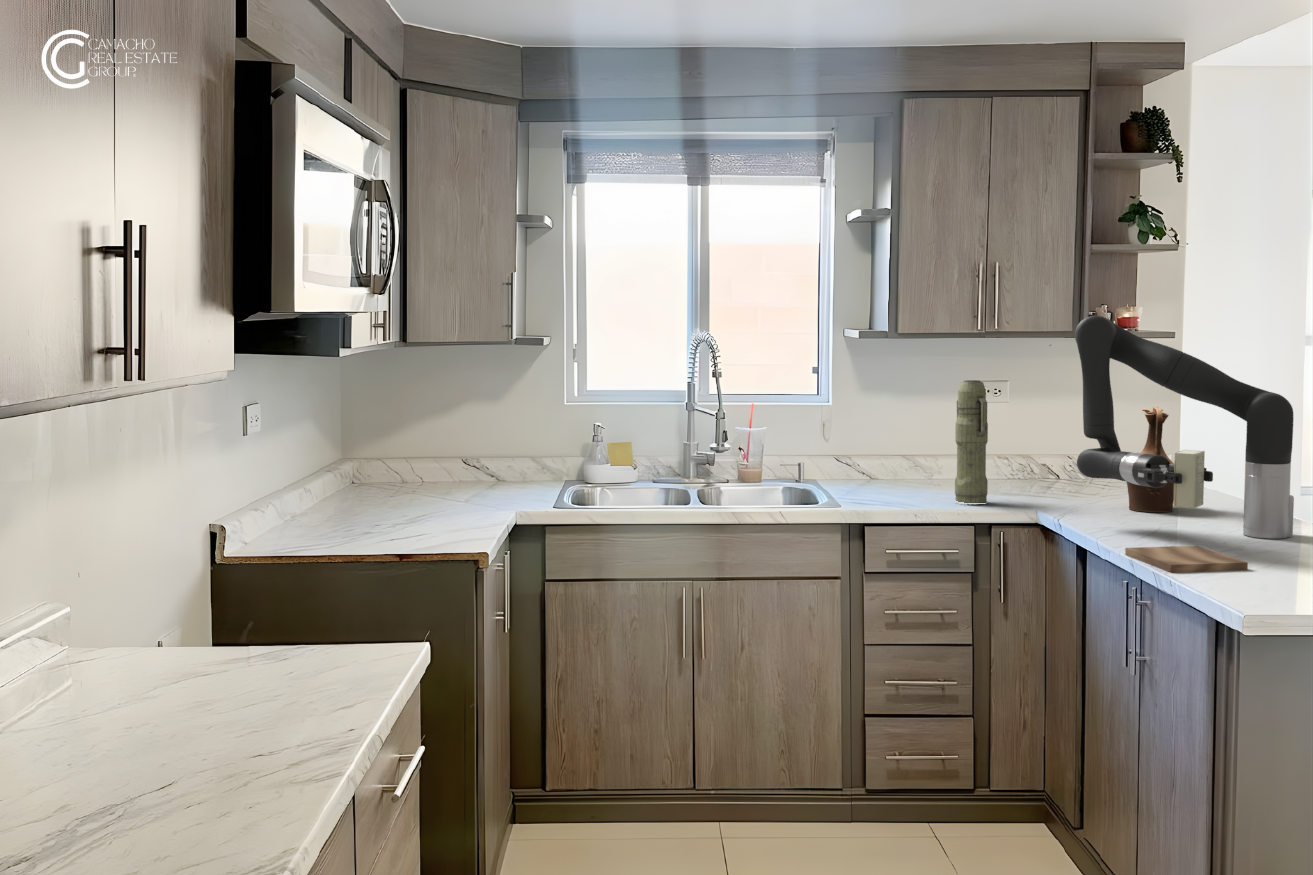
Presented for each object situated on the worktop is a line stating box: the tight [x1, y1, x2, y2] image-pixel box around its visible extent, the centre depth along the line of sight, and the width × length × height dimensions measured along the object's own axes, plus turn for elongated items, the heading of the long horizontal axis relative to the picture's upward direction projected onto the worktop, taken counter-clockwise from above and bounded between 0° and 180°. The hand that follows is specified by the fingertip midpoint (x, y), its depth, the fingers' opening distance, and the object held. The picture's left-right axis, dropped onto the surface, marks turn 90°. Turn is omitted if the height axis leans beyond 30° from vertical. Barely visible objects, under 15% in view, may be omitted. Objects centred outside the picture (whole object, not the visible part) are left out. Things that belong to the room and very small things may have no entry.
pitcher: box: [1126, 406, 1174, 513], centre depth 290 cm, size 18×17×28 cm
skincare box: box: [1173, 449, 1206, 510], centre depth 237 cm, size 6×4×12 cm
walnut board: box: [1124, 545, 1249, 573], centre depth 225 cm, size 16×18×2 cm
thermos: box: [954, 380, 989, 503], centre depth 308 cm, size 9×12×35 cm
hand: (1196, 477), depth 235 cm, fingers closed on skincare box, 7 cm apart
